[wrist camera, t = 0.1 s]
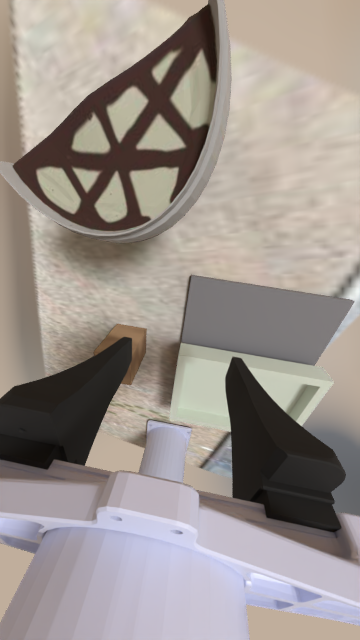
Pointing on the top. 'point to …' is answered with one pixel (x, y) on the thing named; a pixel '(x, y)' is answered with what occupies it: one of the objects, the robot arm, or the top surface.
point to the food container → (137, 140)
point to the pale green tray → (273, 375)
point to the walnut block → (137, 347)
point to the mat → (261, 319)
